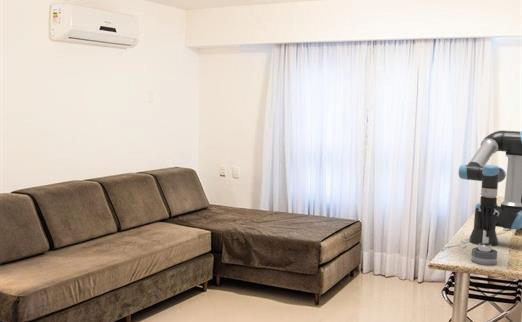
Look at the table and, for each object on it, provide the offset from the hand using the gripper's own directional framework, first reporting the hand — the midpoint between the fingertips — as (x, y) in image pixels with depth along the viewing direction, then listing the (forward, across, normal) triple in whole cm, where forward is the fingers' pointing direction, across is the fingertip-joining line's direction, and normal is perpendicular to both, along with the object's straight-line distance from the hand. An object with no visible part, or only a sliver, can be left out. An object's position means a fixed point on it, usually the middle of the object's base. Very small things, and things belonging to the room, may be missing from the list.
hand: (485, 242), depth 291 cm
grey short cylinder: (+10, 0, 0) cm, 10 cm away
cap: (+7, 0, 0) cm, 7 cm away
